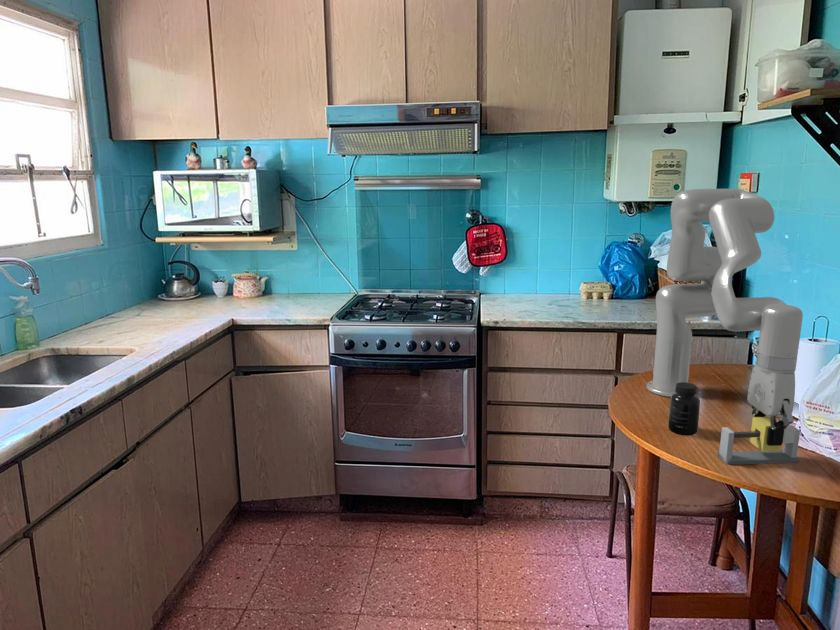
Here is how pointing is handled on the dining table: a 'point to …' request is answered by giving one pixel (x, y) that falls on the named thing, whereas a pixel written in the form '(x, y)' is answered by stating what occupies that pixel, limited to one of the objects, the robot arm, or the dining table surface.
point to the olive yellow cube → (762, 434)
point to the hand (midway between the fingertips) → (766, 438)
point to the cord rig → (758, 457)
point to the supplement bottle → (684, 410)
